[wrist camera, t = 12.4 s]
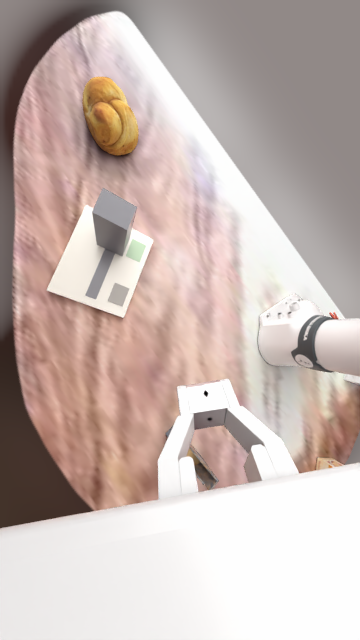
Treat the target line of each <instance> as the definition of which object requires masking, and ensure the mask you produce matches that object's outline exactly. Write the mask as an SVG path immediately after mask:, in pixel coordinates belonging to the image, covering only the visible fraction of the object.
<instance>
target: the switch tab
mask: <svg viewBox="0 0 360 640" xmlns="http://www.w3.org/2000/svg"><path fill="white" fill-rule="evenodd" d="M136 209H137V207H136V206H134V205H133V204H131V203H129V202H127V201H125V200H124V199H122V198H120V197H118V196H117V195H115V194H113V193H111V192H109V191H108V190H106V189H104V188H103V189H102V191H101V193H100V196H99V198H98V200H97V202H96V204H95V207H94V209H93V211H92V215H93V222H94V229H95V236H96V242H97V245H98V246H101V247H103V248H105V249H107V250H109V251H111V252H114V253H116V254H118V255H120V256H123V254H124V251H125V249H126V246H127V244H128V241H129V239H130V235H131V230H132V226H133V222H134V218H135V213H136Z"/></svg>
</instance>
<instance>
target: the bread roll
mask: <svg viewBox="0 0 360 640" xmlns="http://www.w3.org/2000/svg"><path fill="white" fill-rule="evenodd" d="M82 101H83V111H84V116H85V119H86V122H87V125H88V128H89V130H90V133H91V134H92V136H93V138H94V140H95V141H96V143H97V144H98V145H99V146H100V148H101V149H102V150H104V151H106V152H108V153H110V154H113V155H124V154H128V153H131V152H132V151H133V150H134V149H135V147H136V145H137V142H138V125H137V121H136V118H135V116H134V113H133V112H132V110H131V108H130V107H129V106H128V103H127V100H126V97H125V95H124V94H123V92H122V90H121V89H120V88H119V87H118V86H117V85H116V84H115V83H114V82H113V81H112V79H110V78H107V77H94V78H92V79H90V81H89V82H88V83H87V84H86V86H85V89H84V92H83V100H82Z"/></svg>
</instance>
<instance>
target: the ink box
mask: <svg viewBox="0 0 360 640" xmlns="http://www.w3.org/2000/svg"><path fill="white" fill-rule="evenodd" d="M344 380H345V381H348V382H351V383H354V384H357V385H360V377H359V376H354V375H349V374H345V375H344Z"/></svg>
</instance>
